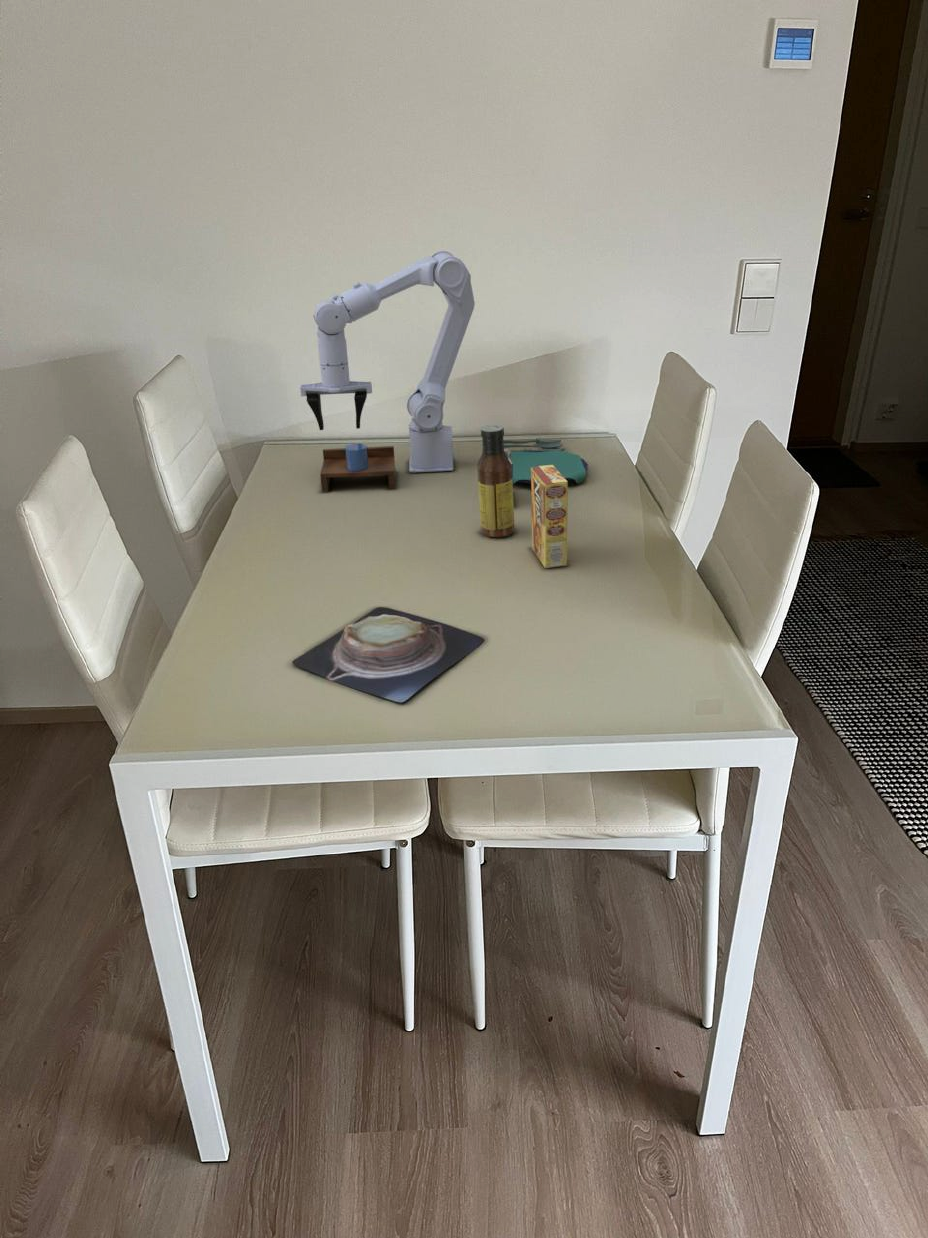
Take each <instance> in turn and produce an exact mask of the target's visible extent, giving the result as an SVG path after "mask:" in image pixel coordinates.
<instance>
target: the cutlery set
mask: <svg viewBox="0 0 928 1238" xmlns="http://www.w3.org/2000/svg"><path fill="white" fill-rule="evenodd" d="M531 443H535V445H534V444H531ZM503 444H504V448H505V449H509V448H522V449H518V450H515V449H514V450H509V451H510V452H511V456H510V460H511V461H512V463H513V485H514V484H515V483H522V484H529V485H531V467H536V466H545V465H553V466H554V467H555V468H556V469H557V470H558V471H559V472H560V473H561V474H562V476H563V477H564V478H565V479H566V480H567V481H568V482H569V481H572V480H574V481H575V483H576V484H577V485H579V484H580V483H581V482H582V481H584V479H586V476H587V471H588V467H589V466H588V465H589V463H587V461H586V460H585V459H584V458H582V457H581V455H579V454H575V453H572V452H568V451H565V448H562V447H563V446H564V443H562V439H543V438H540V437H539V438H538V437H536V438H535V439H527V440H516V439H515V440H512V439H503ZM528 448H529V449H528ZM532 448H540V449H532Z"/></svg>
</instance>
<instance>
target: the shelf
mask: <svg viewBox="0 0 928 1238" xmlns="http://www.w3.org/2000/svg"><path fill="white" fill-rule="evenodd" d="M367 455H368V468H367V469H366V470H363V471H350V470H348V469H347V461H346V450H345V447H340V448H339V447H337V448H323V449H322V457H323V461H322V464H321V470H320V474H319V475H320V484H321V492H322V493H328V492H329V489H330V485H331V479H332V478H342V477H343V478H345V477H346V478H347V477H363V476H364V477H365V476H366V477H367V476H387V479H388V489H389V490H396V473H397V472H396V460H395V459H396V458H395V446H394V445H389V446H388V445H386V446H385V445H384V446H367Z"/></svg>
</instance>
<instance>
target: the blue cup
mask: <svg viewBox="0 0 928 1238" xmlns="http://www.w3.org/2000/svg"><path fill="white" fill-rule="evenodd" d="M367 447H368V446H367V444H365V443H351V444H347V445H346V446H345V447H344V448H345V450H346V461H347V469H348V470H350V471H363V470H366V469H367V468H368V455H367Z"/></svg>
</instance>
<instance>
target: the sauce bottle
mask: <svg viewBox="0 0 928 1238" xmlns="http://www.w3.org/2000/svg"><path fill="white" fill-rule="evenodd" d="M480 436H481V440H482V453H481V456H480V458H479V459H478V461H477V465H476V466H477V488H478V489H477V490H478V502H479V503H478V504H479V518H480V519H479V521H480V526H481V527H480V529H481V532H482V534H483V535H485V536H486V537H491V538H504V537H508V536H510V535H512V534H513V533H514V530H515V503H514V484H513V482H512V474H511V463H510V461H509V459H508V457H507V455H506V454H505V452H504V444H503V440H504V436H505V429H504V426H503V425H500V424H487V425H484V426H482V427H481V428H480Z"/></svg>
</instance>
